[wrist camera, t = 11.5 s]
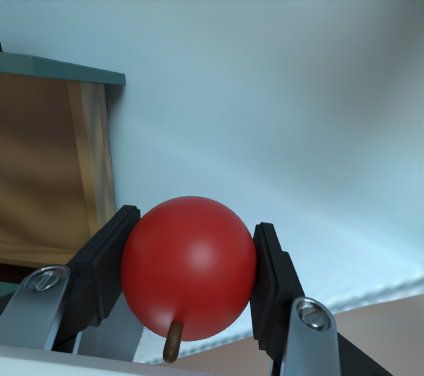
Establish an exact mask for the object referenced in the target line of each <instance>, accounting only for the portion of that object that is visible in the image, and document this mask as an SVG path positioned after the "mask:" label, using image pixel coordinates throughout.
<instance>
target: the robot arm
mask: <svg viewBox="0 0 424 376" xmlns="http://www.w3.org/2000/svg"><path fill="white" fill-rule="evenodd" d="M140 219H141V217H140V210H139V209H137V207H136V206H131V205H124V206H123V207H122V208H121V209H120V210H119V211H118V212H117V213H116V214H115V215H114V216H113V217H112V218H111V219H110V220H109V221H108V222H107V223H106V224H105V225H104V227H103V228H101V229H100V230H98V231H97V232H96V234H95V235H94V236H93V237H92V238H91V239H90V240H89V241H88V242H87V243H86V244H85V245H84V246H83V247H82V248H81V249H80V250H79V251H78V252H77V253H76V254H75V255H74V256H73V257H72V259H71V260H70V261H69V262H68V263H67V264H66V265H62V264H52V265H47V266H44V267H41V268H39V269H37V270H35V271H33V272H31V273H30V274H29V275H28V276H26V277H25V278H24V280H23V281H22V282H21V284H20V285H19V287H18V288H17V290H16V291H15V292H12V293H10V294H7V295H4V296H2V297H0V376H225V375H218V374H211V373H205V372H198V371H191V370H184V369H177V368H170V367H162V366H156V365H149V364H142V363H135V362H128V361H121V360H113V359H106V358H99V357H91V356H84V355H77V352H78V348H79V344H80V340H81V336H82V331H83V330H85V329H86V328H87V327H88V326H93V327H99V326H100V324H101V322H102V320H103V319H107V318H108V316H109V315H110V313H111V311H112V309H113V307H114V305H115V304H116V302H117V300H118V298H119V296H120V294H121V292H122V291H123V289H122V284H121V275H120V266H121V258H122V253H123V250H124V246H125V244H126V241H127V239H128V237H129V235H130V233H131V231H132V230H133V228H134V227H135V225H136V224H137V223H138V221H139V220H140ZM253 242H254V245H255V249H256V253H257V264H258V269H257V279H256V284H255V287H254V291H253V294H252V296H251V298H250V309H251V318H252V327H253V336H254V339H255V340H258V342H259V350H265V351H266V353H267V354H268V355H269V356H270V357H271V359H272V361H271V367H270V373H269V376H393V375H392V374H390V373H389V372H388V371H386V370H385V369H384V368H383V367H381V366H380V365H379V364H378V363H376V362H375V361H374V360H373V359H371V358H370V357H369V356H367V355H366V354H365V353H364V352H362V351H361V350H360V349H359V348H357V347H356V346H354V345H353V344H352V343H351V342H349V341H348V340H347V339H346V338H344V337H343V336H342V335H340V334H339V333H338V332H337V327H336V322H335V319H334V317H333V315H332V313H331V312H330V311H329V310H328V309H327V308H326V307H325V306H324V305H323V304H321V303H320V302H318V301H316V300H315V299H312V298H309V297H305V294H304V291H303V289H302V286H301V284H300V281H299V278H298V276H297V273H296V271H295V268H294V266H293V263H292V260H291V258H290V255H289V253H288V252H285V251H282V249H281V246H280V243H279V241H278V238H277V235H276V232H275V229H274V226H273V224H272V223H264V222H261V223H260V225H256V227H255V232H254V236H253Z"/></svg>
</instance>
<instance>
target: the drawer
mask: <svg viewBox="0 0 424 376" xmlns="http://www.w3.org/2000/svg"><path fill="white" fill-rule="evenodd" d="M104 83H106V84H117V85H125V84H126V83H125V74H122V73H117V72H112V71H107V70H102V69H97V68H92V67H87V66H82V65H77V64H72V63H67V62H62V61H57V60H52V59H47V58H42V57H37V56H32V55H24V54H15V53H6V52H3V51H2V47H1V43H0V263H2V264H9V265H17V266H24V267H32V268H41V267H44V266H47V265H52V264H62V265H66V264H67V263H68V262H69V261H70V260H71V259H72V257H73V256H74V255H75V254H76V253H77V252H78V251H79V250H80V249H81V248H82V247H83V246H84V245H85V244H86V243H87V242H88V241H89V240H90V239H91V238H92V237H93V236H94V235H95V234H96V232H97V231H98V230H100V229H101V228H103V227H104V225H105V224H106V223H107V222H108V221H109V220H110V219H111V218H112V217H113V216H114V215H115V214H116V209H115V198H114V187H113V176H112V165H111V154H110V143H109V132H108V121H107V110H106V99H105V89H104Z"/></svg>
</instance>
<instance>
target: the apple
mask: <svg viewBox="0 0 424 376" xmlns="http://www.w3.org/2000/svg"><path fill="white" fill-rule="evenodd" d="M257 269H258V264H257V253H256V249H255V245H254V242H253V239H252V237H251V234H250V232H249V231H248V229H247V227H246V226H245V224H244V223H243V221H242V220H241V219H240V218H239V217H238V216H237V215H236V214H235V213H234V212H233V211H232V210H231V209H229V208H228V207H226V206H225V205H223V204H221V203H219V202H217V201H214V200H212V199H208V198H205V197H198V196H185V197H178V198H174V199H171V200H168V201H165V202H163V203H161V204H159V205H157V206H156V207H154V208H153V209H151V210H150V211H149V212H147V213H146V214H145V215H144V216H143V217H142V218H141V219H140V220H139V221H138V223H137V224H136V225H135V227H134V228H133V230H132V231H131V233H130V235H129V237H128V239H127V241H126V244H125V246H124V250H123V253H122V258H121V266H120V275H121V284H122V289H123V293H124V296H125V299H126V301H127V303H128V305H129V307H130V309H131V311H132V312H133V313H134V315H135V316H136V317H137V319H138V320H139V321H140V322H141V323H142V324H143V325H144V326H145V327H147V328H148V329H150V330H151V331H153V332H154V333H156V334H158V335H159V336H162V337H164V338H167V339H166V343H165V346H164V350H163V359H164V361H165V362H167V363H173V362H174V361H176V359H177V357H178V353H179V348H180V343H181V341H197V340H202V339H206V338H209V337H211V336H214V335H216V334H218V333H220V332H221V331H223V330H225V329H226V328H227V327H229V326H230V325H231V324H232V323H233V322H234V321H235V320H236V319H237V318H238V317H239V316H240V315H241V313H242V312H243V311H244V309H245V308H246V306H247V304H248V302H249V300H250V298H251V296H252V294H253V291H254V287H255V284H256V279H257Z"/></svg>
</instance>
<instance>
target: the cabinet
mask: <svg viewBox="0 0 424 376" xmlns="http://www.w3.org/2000/svg"><path fill="white" fill-rule="evenodd" d="M37 269H39V268H32V267H24V266H17V265H9V264H2V263H0V297H2V296H4V295H7V294H10V293H12V292H15V291H16V290H17V288H18V287H19V285H20V284H21V282H22V281H23V280H24V278H25V277H26V276H28V275H29V274H30V273H31V272H33V271H35V270H37ZM142 333H143V324H142V323H141V322H140V321H139V320H138V319H137V317H136V316H135V315H134V313H133V312H132V311H131V309H130V307H129V305H128V303H127V301H126V299H125V296H124V293H123V291H122V292H121V294H120V296H119V298H118V300H117V302H116V304H115V305H114V307H113V309H112V311H111V313H110V315H109V316H108V318H107V319H103V320H102V322H101V324H100V326H99V327H93V326H88V327H87V328H86V329H85V330H83V331H82V336H81V340H80V344H79V348H78V352H77V355H84V356H91V357H99V358H106V359H113V360H121V361H128V362H132V361H133V358H134V355H135V352H136V350H137V347H138V344H139V341H140V338H141V336H142Z"/></svg>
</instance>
